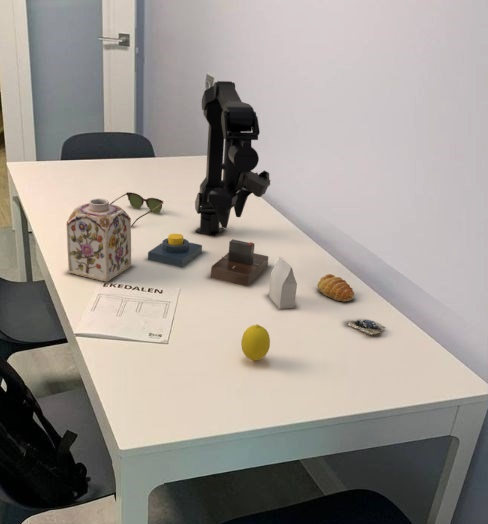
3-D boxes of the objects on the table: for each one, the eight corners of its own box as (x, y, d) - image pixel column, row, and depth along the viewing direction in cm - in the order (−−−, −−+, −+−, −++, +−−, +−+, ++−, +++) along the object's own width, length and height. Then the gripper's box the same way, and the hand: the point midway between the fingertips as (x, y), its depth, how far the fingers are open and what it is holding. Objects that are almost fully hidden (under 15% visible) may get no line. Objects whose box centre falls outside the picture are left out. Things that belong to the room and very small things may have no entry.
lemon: (238, 353, 135) (241, 318, 131) (265, 353, 135) (268, 318, 132) (242, 368, 130) (245, 332, 126) (270, 367, 130) (274, 331, 127)
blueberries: (377, 339, 142) (379, 331, 141) (342, 328, 146) (343, 321, 145) (387, 327, 147) (389, 319, 146) (353, 317, 151) (354, 309, 150)
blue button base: (169, 245, 186) (169, 231, 184) (201, 252, 182) (202, 238, 180) (147, 259, 176) (147, 245, 174) (181, 267, 172) (182, 253, 170)
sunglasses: (164, 215, 208) (163, 200, 205) (135, 232, 197) (134, 216, 195) (127, 205, 214) (126, 191, 212) (97, 221, 204) (96, 206, 201)
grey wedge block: (279, 308, 153) (283, 268, 149) (268, 296, 159) (272, 257, 155) (294, 307, 154) (299, 267, 150) (283, 295, 160) (287, 256, 156)
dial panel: (231, 259, 179) (232, 248, 177) (267, 266, 175) (269, 255, 174) (210, 277, 167) (210, 266, 166) (248, 286, 164) (249, 274, 162)
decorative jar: (132, 266, 171) (132, 198, 163) (108, 283, 162) (106, 212, 154) (92, 257, 176) (90, 190, 167) (66, 273, 166) (63, 203, 158)
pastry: (360, 299, 160) (362, 285, 158) (339, 305, 156) (341, 291, 155) (334, 284, 167) (336, 270, 165) (313, 290, 163) (314, 275, 162)
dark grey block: (228, 260, 170) (229, 240, 168) (231, 257, 172) (232, 238, 169) (250, 264, 168) (251, 245, 166) (253, 262, 170) (254, 242, 167)
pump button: (172, 239, 180) (172, 232, 179) (185, 242, 178) (186, 235, 177) (165, 244, 176) (165, 237, 175) (178, 247, 175) (179, 239, 174)
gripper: (253, 174, 149) (248, 240, 156) (280, 156, 165) (274, 217, 172) (208, 167, 153) (204, 231, 160) (238, 150, 168) (234, 209, 176)
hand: (231, 222), depth 167 cm, fingers open, 9 cm apart
